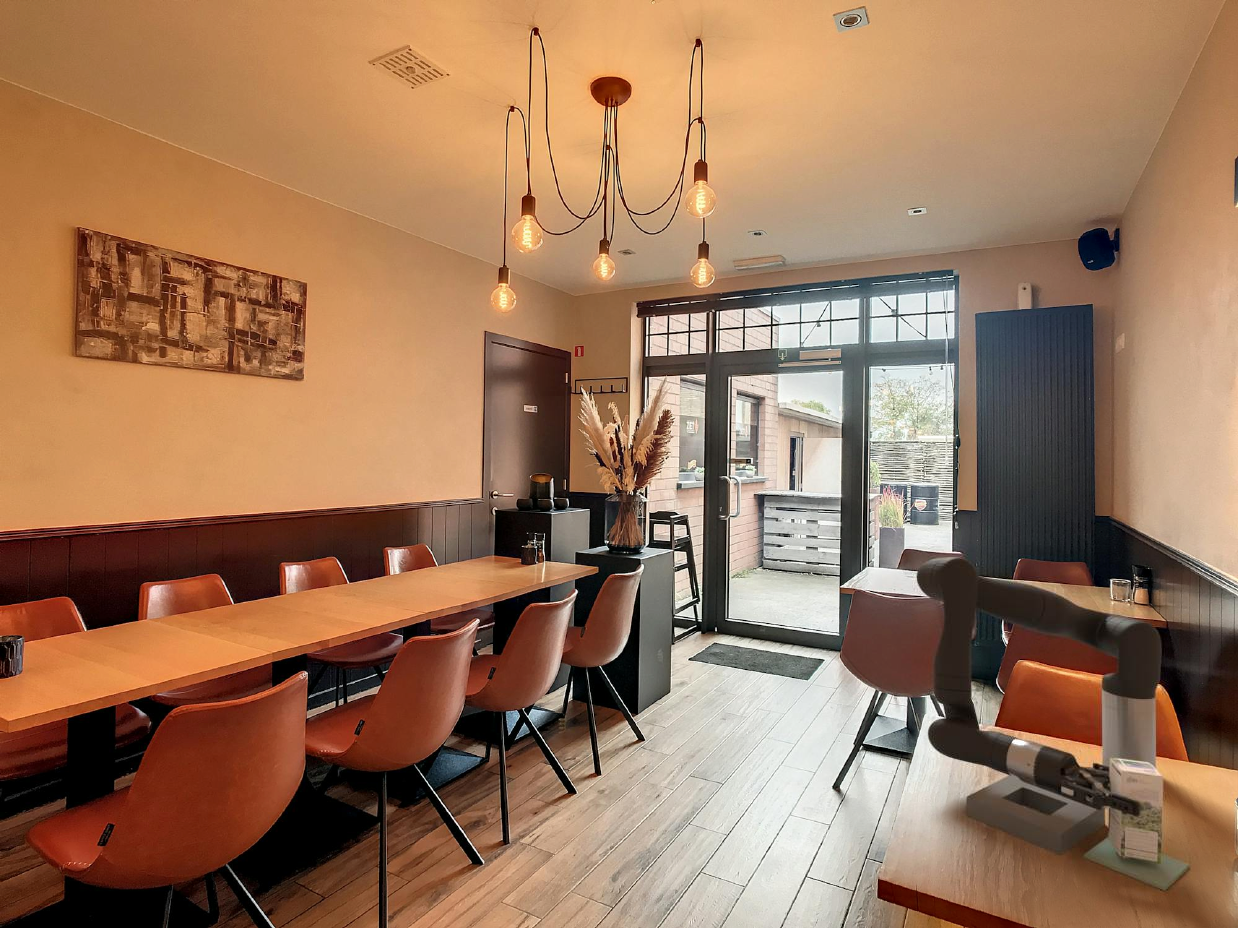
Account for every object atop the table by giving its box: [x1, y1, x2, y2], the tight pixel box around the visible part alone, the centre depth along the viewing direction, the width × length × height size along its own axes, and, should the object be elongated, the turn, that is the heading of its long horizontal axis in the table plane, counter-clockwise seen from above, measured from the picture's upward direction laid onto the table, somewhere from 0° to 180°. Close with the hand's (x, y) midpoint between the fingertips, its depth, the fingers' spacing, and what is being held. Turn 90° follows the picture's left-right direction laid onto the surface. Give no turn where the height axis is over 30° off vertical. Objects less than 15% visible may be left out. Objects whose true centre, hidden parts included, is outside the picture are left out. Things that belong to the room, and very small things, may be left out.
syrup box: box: [1107, 758, 1164, 864], centre depth 112 cm, size 6×6×14 cm
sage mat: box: [1083, 836, 1190, 891], centre depth 112 cm, size 11×11×1 cm
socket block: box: [966, 775, 1106, 856], centre depth 126 cm, size 18×16×4 cm
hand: (1149, 802), depth 111 cm, fingers closed on syrup box, 7 cm apart
